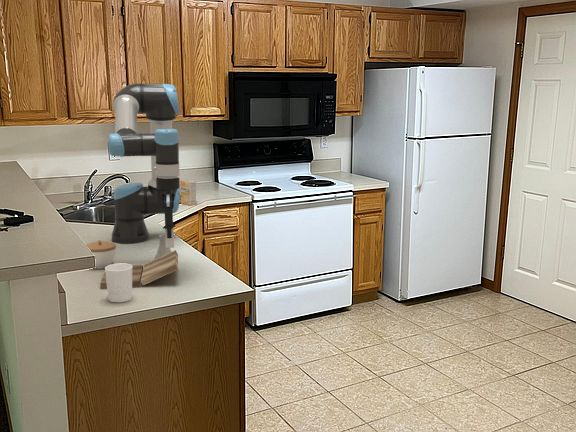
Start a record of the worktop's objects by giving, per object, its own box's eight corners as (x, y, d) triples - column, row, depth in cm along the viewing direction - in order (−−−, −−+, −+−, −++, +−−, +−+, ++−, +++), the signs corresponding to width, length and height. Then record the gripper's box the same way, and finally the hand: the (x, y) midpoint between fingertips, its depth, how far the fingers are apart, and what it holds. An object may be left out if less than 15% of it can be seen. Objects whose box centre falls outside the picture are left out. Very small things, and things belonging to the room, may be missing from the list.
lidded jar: (115, 260, 215) (114, 236, 213) (118, 268, 205) (116, 243, 203) (84, 263, 211) (82, 238, 209) (86, 272, 201) (84, 245, 199)
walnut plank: (107, 271, 202) (107, 266, 201) (143, 270, 204) (143, 264, 203) (100, 288, 184) (100, 282, 184) (139, 287, 186) (139, 281, 186)
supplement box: (180, 203, 323) (179, 180, 320) (186, 202, 327) (186, 179, 324) (190, 205, 318) (189, 182, 315) (196, 204, 322) (196, 181, 319)
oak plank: (146, 268, 204) (144, 264, 203) (178, 254, 205) (175, 249, 204) (143, 285, 186) (140, 280, 186) (177, 269, 187) (175, 264, 187)
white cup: (101, 298, 176) (100, 266, 174) (125, 292, 181) (124, 261, 179) (114, 305, 170) (113, 272, 168) (138, 299, 176) (137, 267, 174)
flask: (165, 257, 219) (165, 232, 217) (178, 261, 215) (178, 235, 213) (150, 261, 214) (149, 235, 212) (163, 265, 209) (162, 238, 207)
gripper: (156, 174, 196) (159, 242, 200) (155, 179, 183) (157, 252, 188) (179, 174, 197) (181, 242, 202) (179, 179, 185) (181, 251, 189)
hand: (169, 247), depth 195 cm, fingers closed
